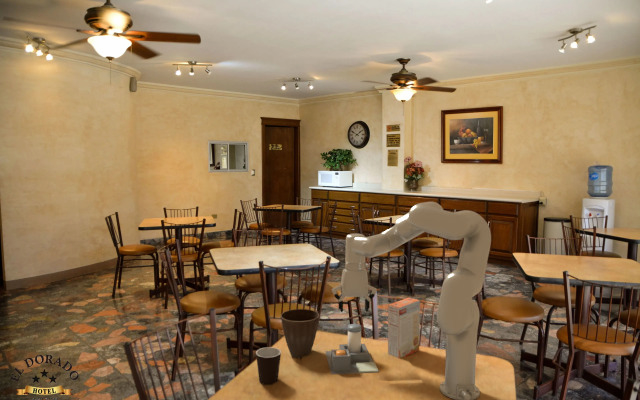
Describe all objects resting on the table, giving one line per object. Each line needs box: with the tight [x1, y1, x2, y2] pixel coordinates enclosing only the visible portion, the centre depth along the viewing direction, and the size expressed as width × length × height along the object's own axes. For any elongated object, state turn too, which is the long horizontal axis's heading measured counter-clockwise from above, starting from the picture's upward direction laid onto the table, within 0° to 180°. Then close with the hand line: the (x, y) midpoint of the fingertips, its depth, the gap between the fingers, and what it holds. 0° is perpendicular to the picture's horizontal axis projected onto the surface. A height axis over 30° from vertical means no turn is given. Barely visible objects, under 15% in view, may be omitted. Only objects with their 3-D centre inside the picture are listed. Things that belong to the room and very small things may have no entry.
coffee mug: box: [255, 346, 282, 386], centre depth 162 cm, size 12×9×10 cm
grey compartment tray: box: [325, 343, 379, 375], centre depth 174 cm, size 20×17×6 cm
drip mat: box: [356, 361, 379, 374], centre depth 169 cm, size 7×7×1 cm
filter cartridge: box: [347, 323, 362, 353], centre depth 178 cm, size 5×5×12 cm
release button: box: [336, 349, 346, 356], centre depth 168 cm, size 4×4×4 cm
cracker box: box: [387, 297, 421, 359], centre depth 183 cm, size 14×6×21 cm, turn 134°
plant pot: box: [280, 308, 320, 359], centre depth 182 cm, size 15×15×16 cm
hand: (353, 310), depth 177 cm, fingers open, 9 cm apart
